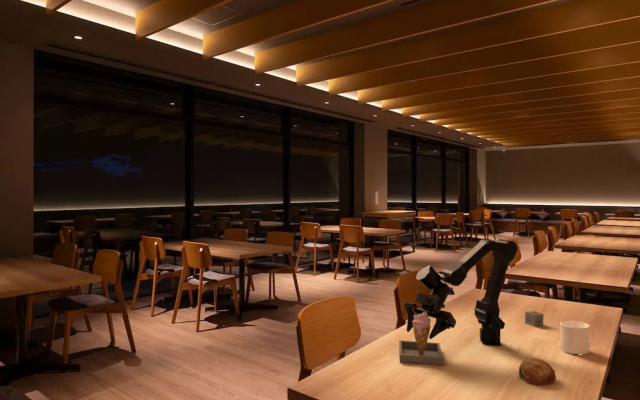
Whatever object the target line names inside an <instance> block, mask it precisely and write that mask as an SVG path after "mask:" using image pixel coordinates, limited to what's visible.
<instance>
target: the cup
mask: <svg viewBox="0 0 640 400" xmlns="http://www.w3.org/2000/svg"><path fill="white" fill-rule="evenodd" d="M559 327H560V328H559V329H560V330H559V331H560V332H559V333H560V334H559V348H560V350H561V351H562V350H563V351H562V352H564V351H565V352H564V353H566V352H568V353H572V354H586V353H587V354H588V353H589V352H590V348H591V346H590V345H591V342H590V328H591V326H590V324H589V323H586V322H581V321H578V320H572V319H571V320H568V319H567V320H562V321H560V322H559ZM568 353H567V354H568ZM572 354H571V355H572ZM587 354H586V355H587Z"/></svg>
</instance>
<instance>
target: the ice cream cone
mask: <svg viewBox="0 0 640 400" xmlns="http://www.w3.org/2000/svg"><path fill="white" fill-rule="evenodd" d="M413 317H414V321H412V323H413V328H412V330H413V334H414V340H415V341H416V344H417V348H418V352H419V355H423V354H424V350H425V347H426V344H427V342H428V340H429V335H430V333H431V326H432V325H431V321H432V320H431V319H432V318H431V317H428V315H427V312H426V311H425V312H423V314H418V315H414V316H413Z"/></svg>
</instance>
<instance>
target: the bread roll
mask: <svg viewBox="0 0 640 400" xmlns="http://www.w3.org/2000/svg"><path fill="white" fill-rule="evenodd" d="M518 378H520V379H521V380H523V381H524V380H525V382H527V383H528V384H530V383H532V384H531V385H533V384H536V385H535V386H539V385H543V386H542V387H545V386H544V385H547V386H551V385H553V384H554V383H556V380H557V379H556V378H557V377H556V372H555V370H554V368H553V367H552V366H551V365H550V364H549V363H548V362H547V361H546V360H543V359H542V358H541V359H540V358H536V357H535V358H534V357H529V358H525V359H524V360H522V362H521V363H520V364H519V367H518ZM550 384H551V385H550Z"/></svg>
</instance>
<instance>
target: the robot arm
mask: <svg viewBox="0 0 640 400" xmlns="http://www.w3.org/2000/svg"><path fill="white" fill-rule="evenodd" d="M518 250H519V246H518V244H517V243H516V242H515V241H514V240H509V239H502V238H499V239H497V240H491V239H487V238H486V239H485V238H483V239H480V240H479V241H478V243H477V244H476V245H475V246H474V247H472V249H471V250H470V251H468V252H467V253H466V254H465V255H464V256H463V257H462V258H461V259H459V260H458V261H457V262H454V263H451V264H449V265H448V266H446V267H445V268H444V269H442V270H441V271H436V270H435V268H434V267H433V266H432V265H426V267H423V268H421V270H418V271H417V273H416V280H418V282H420V283H421V284H422V286H423V287H425V289H427V290H431V291H430V293H427V294H426V293H422V292H417V294H416V297H415V302H416V303H417V302H418V303H419V306H420V307H418V305H417V304H416V303H414V302H409V301H407V302H405V303H404V304H403V307H402V308H403V309H404V310H405V312H406V314H407V323H406V332H407V333H410V331H411V330H413V323H412V321H414V317H413V316H414V315H418V314H423V312H425V311H426V312H427V315H428V317H429V318H431V319H432V318H433V319H435V323H434V325H433V327H432V329H431V330H430V332H429V336H428V339H430V340H432V339H433V338H435V337H436V336H438V335H439V334H440V333H442V332H444V331H446V330H447V329H448V330H450V329H451V328H452V329H454V328H455V326H456V325H457V320H456V318H455V317H454V315H453V314H452V312H451V311H447V310H442V309H445V307H446V304H445V302H446V300H447V298H448V296H454V295H455V291H454V288H453V287H459V286H461V285H462V284H463V283H464V281H465V280H466V278H467V276H468V273H469V272H470V270H471V269H473V267H474V266H476V265H477V264H478V263H479V262H480V261H481V260H482V259H484V258H485V256H486V255H488V254H489V253H490V252H492V257H493V265H492V267H491V271H490V275H489V277H488V282H487V286H486V290H485V293H484V296H483V298H482V299H481V300H479V299H477V300H476V302H475V307H474V308H473V311H474V316H475V318H476V319H477V322H478V324H480V327H481V328H479V341H480V342H481V343H482V345H487V346H488V345H489V346H502V343H501V331H502V330H504V328H505V325H506V323H505V322H504V321H503V320H502V318H501V317H500V311H501V310H500V305H499V298H500V295H501V291H502V288H503V284H504V280H505V276H506V273H507V270H508V266H509V264H511V262H512V261H514V259H515V257H516V256H517V252H518ZM449 285H451V287H450V286H449ZM452 286H453V287H452Z"/></svg>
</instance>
